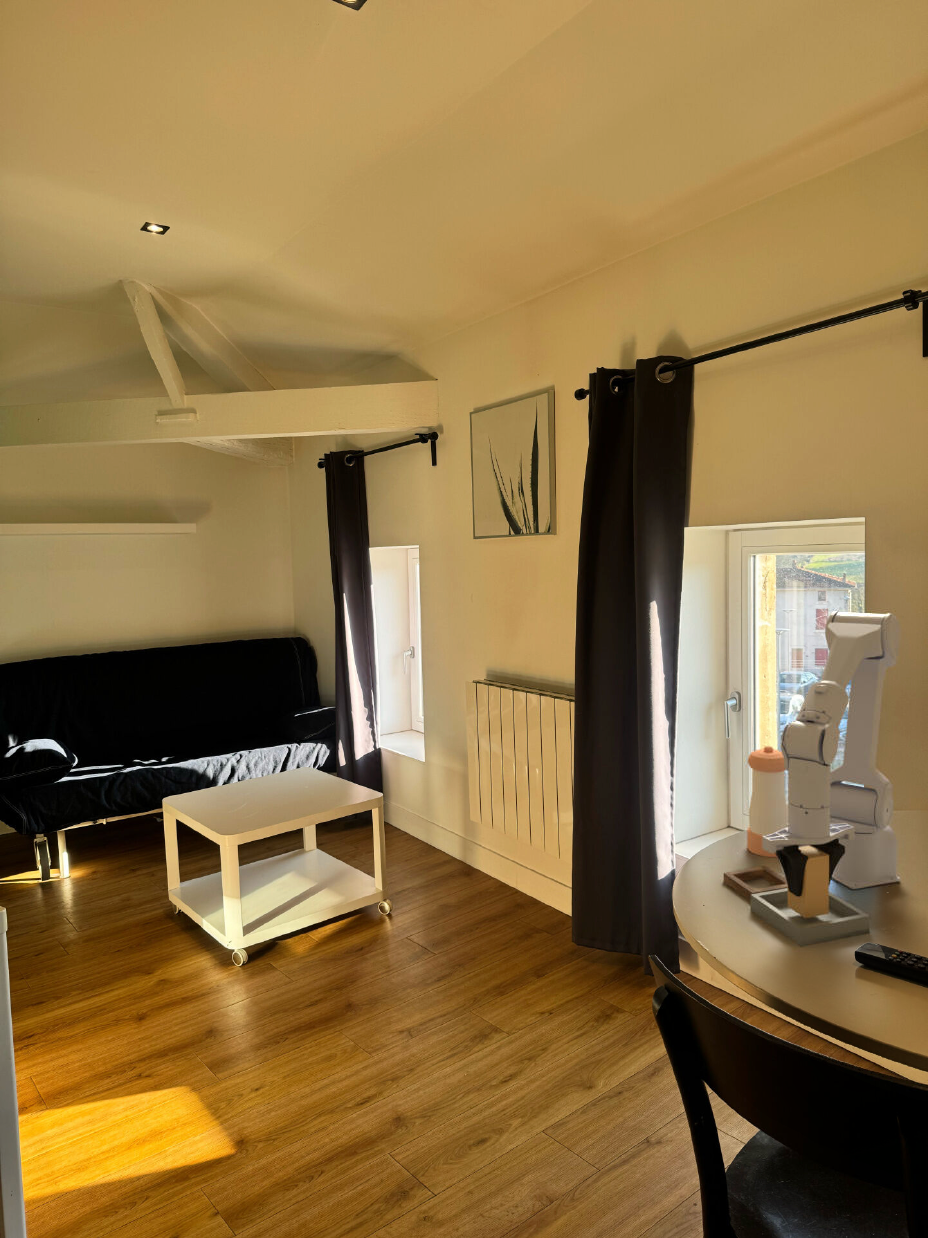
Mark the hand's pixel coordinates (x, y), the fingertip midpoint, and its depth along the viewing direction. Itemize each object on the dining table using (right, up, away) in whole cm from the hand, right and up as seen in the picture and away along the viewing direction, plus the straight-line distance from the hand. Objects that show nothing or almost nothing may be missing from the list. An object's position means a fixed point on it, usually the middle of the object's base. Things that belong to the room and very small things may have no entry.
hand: (808, 891), depth 122 cm
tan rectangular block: (0, -3, 0) cm, 3 cm away
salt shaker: (+4, -2, +27) cm, 28 cm away
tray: (0, -5, +1) cm, 5 cm away
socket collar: (-3, -3, +12) cm, 13 cm away
